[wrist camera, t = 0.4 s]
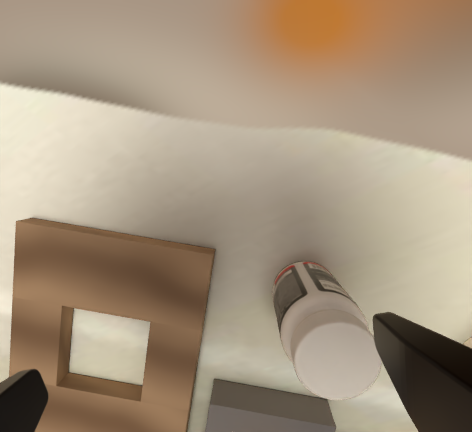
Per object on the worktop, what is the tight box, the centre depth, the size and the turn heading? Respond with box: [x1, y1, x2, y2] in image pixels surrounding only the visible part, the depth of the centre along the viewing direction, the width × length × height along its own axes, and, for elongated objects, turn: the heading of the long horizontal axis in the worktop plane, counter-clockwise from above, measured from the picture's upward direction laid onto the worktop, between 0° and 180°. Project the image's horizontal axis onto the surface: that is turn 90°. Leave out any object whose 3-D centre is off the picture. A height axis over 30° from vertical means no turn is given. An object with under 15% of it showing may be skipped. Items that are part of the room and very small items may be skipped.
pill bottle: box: [272, 262, 381, 400], centre depth 17 cm, size 5×5×8 cm
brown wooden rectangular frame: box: [9, 218, 215, 432], centre depth 22 cm, size 18×14×2 cm
